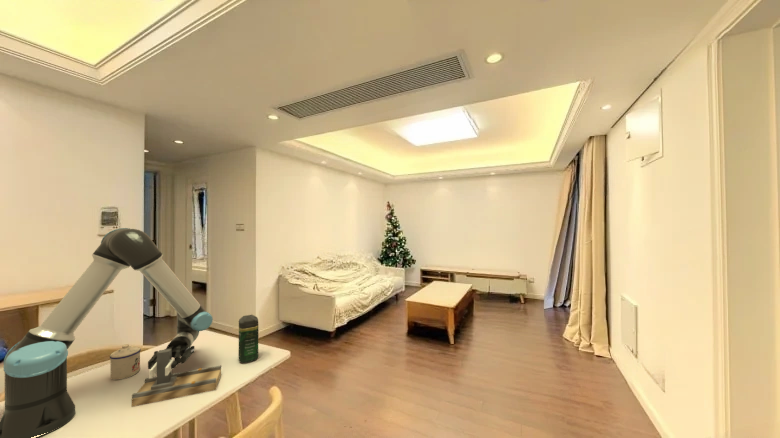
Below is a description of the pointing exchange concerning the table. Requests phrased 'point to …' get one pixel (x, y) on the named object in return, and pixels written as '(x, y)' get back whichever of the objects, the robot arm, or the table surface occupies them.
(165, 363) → the fader tab
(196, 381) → the fader console
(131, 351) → the teacup with lid
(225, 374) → the table surface
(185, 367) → the table surface
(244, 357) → the coffee jar
